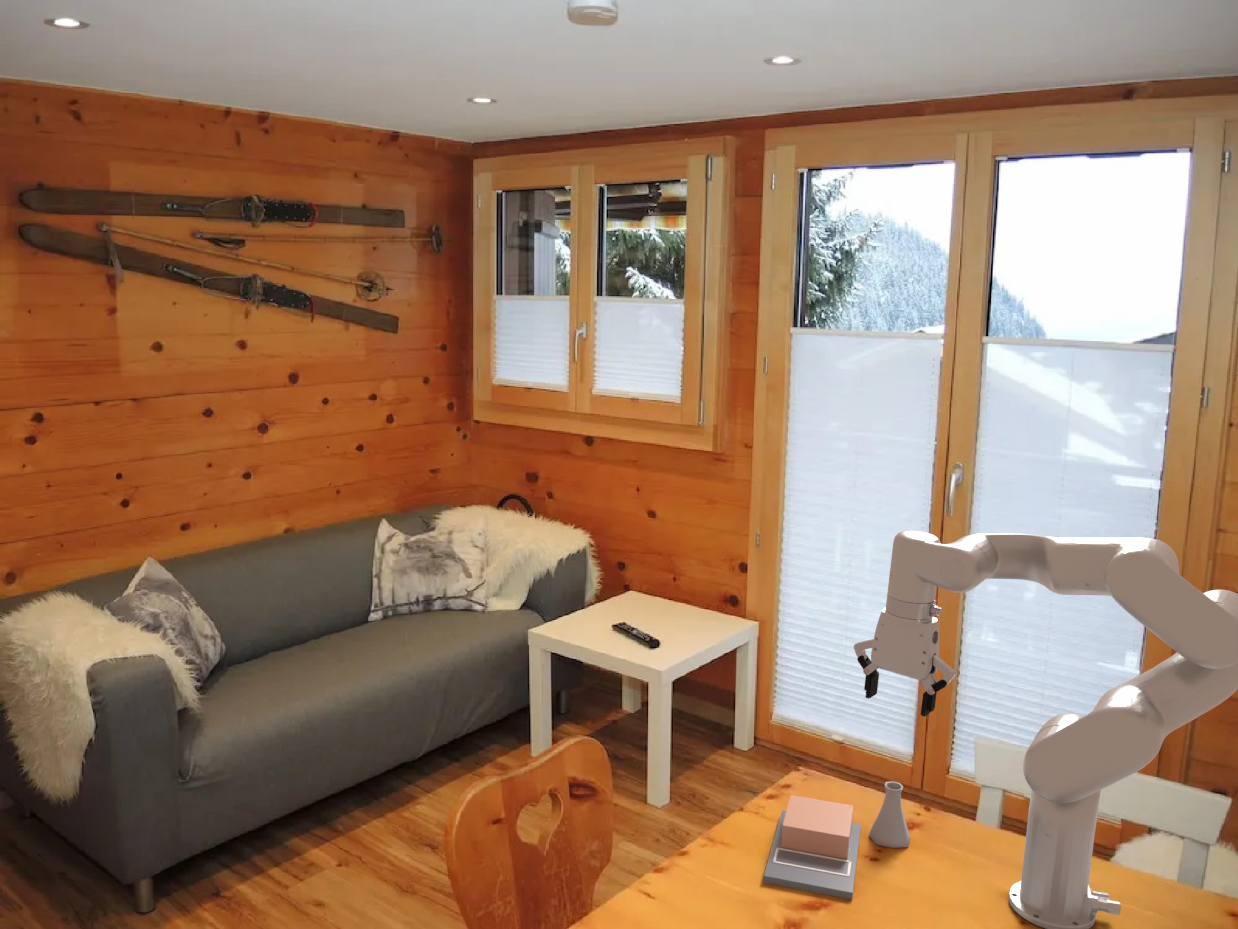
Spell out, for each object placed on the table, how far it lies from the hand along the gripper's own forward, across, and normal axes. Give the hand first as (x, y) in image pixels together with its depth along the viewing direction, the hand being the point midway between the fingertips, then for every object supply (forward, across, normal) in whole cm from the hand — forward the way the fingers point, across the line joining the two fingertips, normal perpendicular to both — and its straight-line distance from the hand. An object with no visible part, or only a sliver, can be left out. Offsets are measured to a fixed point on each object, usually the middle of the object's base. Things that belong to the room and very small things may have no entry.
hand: (898, 704), depth 169 cm
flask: (+27, 0, -5) cm, 27 cm away
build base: (+27, +8, +9) cm, 30 cm away
